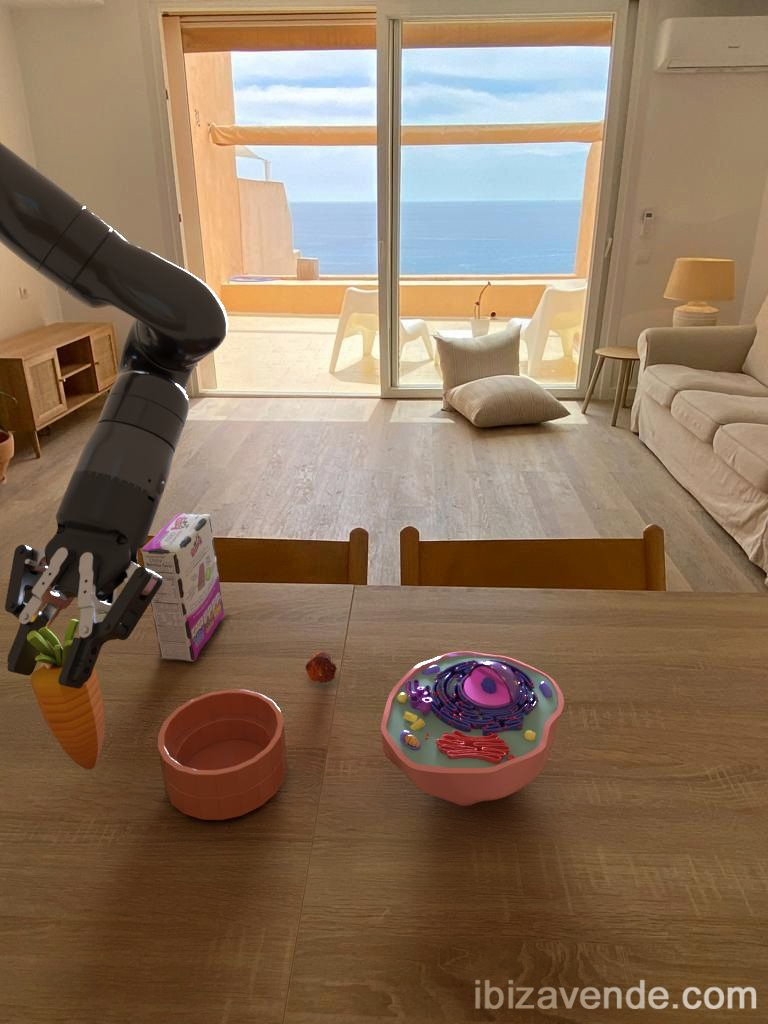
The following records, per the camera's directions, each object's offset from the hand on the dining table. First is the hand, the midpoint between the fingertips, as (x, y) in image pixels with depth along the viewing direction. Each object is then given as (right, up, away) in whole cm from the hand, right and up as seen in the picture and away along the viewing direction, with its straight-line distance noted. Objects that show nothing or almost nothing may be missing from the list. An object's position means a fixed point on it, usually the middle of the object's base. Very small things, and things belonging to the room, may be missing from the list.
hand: (44, 678), depth 55 cm
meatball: (+20, -8, +31) cm, 37 cm away
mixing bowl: (+11, -14, +16) cm, 24 cm away
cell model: (+36, -14, +17) cm, 42 cm away
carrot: (+1, -10, +6) cm, 11 cm away
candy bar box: (+1, -4, +40) cm, 40 cm away
